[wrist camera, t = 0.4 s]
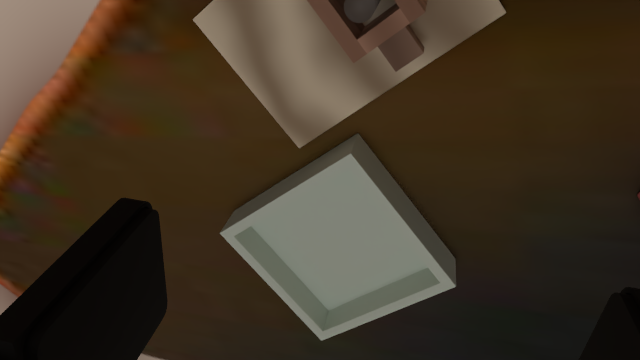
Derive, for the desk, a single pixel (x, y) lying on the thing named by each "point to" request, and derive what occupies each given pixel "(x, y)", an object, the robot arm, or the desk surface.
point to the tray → (341, 242)
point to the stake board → (325, 54)
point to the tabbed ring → (375, 30)
